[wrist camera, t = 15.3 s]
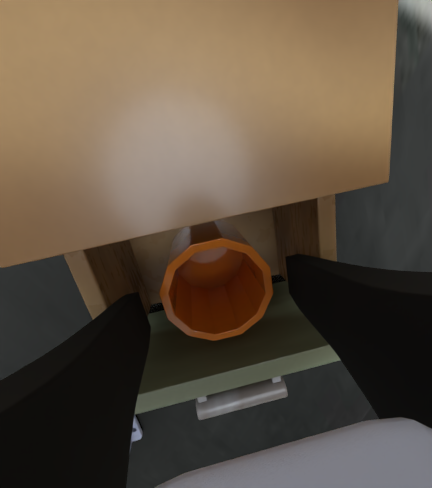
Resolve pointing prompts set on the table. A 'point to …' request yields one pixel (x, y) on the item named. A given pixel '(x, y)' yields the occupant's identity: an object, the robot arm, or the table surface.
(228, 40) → the cabinet
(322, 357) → the drawer
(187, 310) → the orange cup
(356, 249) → the table surface
